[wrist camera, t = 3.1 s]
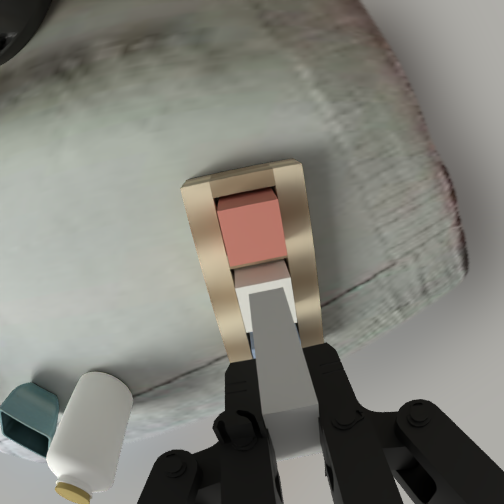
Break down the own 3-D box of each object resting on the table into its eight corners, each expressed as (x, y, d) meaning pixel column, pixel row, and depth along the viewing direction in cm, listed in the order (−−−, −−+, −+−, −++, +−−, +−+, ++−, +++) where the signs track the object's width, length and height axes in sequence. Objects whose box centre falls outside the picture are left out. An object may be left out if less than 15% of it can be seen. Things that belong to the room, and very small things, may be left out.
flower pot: (70, 394, 39) (51, 438, 31) (65, 421, 42) (49, 461, 34) (21, 367, 37) (-3, 407, 29) (21, 397, 40) (1, 434, 32)
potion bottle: (83, 400, 40) (48, 497, 23) (76, 361, 37) (27, 468, 20) (135, 413, 41) (112, 518, 24) (134, 376, 38) (102, 494, 21)
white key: (234, 262, 30) (235, 288, 26) (281, 253, 30) (290, 277, 26) (243, 303, 32) (246, 332, 28) (288, 294, 32) (297, 322, 28)
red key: (219, 196, 28) (217, 211, 23) (269, 186, 28) (278, 199, 23) (230, 243, 30) (230, 266, 25) (278, 234, 30) (287, 255, 25)
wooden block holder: (186, 180, 29) (180, 188, 25) (292, 158, 29) (301, 163, 25) (234, 355, 37) (235, 378, 34) (317, 339, 37) (325, 360, 33)
